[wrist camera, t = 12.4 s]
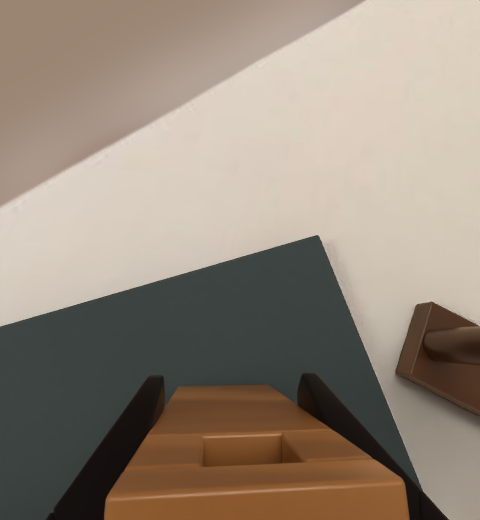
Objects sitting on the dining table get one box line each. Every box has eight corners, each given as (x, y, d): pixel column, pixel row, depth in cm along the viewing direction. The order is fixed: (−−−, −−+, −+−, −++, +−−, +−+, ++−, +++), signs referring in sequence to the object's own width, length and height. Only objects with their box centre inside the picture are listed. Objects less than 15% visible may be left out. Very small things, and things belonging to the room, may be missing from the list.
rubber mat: (2, 727, 11) (-18, 766, 10) (-39, 342, 14) (-57, 342, 13) (421, 512, 14) (437, 525, 13) (312, 240, 17) (318, 234, 16)
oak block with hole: (270, 419, 13) (423, 608, 4) (175, 422, 12) (89, 643, 3) (269, 384, 13) (407, 478, 4) (177, 385, 13) (104, 495, 4)
